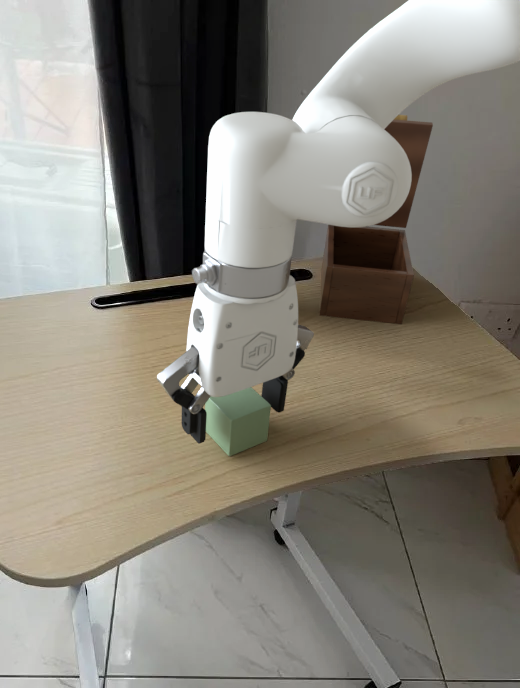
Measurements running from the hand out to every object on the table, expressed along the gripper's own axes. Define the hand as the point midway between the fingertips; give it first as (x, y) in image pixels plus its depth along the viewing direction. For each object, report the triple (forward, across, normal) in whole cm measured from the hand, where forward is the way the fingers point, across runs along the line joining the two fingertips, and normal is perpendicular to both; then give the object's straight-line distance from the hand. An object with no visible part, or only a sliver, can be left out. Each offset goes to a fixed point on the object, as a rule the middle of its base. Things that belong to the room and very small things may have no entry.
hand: (234, 419), depth 68 cm
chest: (+2, +30, +14) cm, 33 cm away
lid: (-14, +33, +18) cm, 41 cm away
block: (+2, 0, 0) cm, 2 cm away
